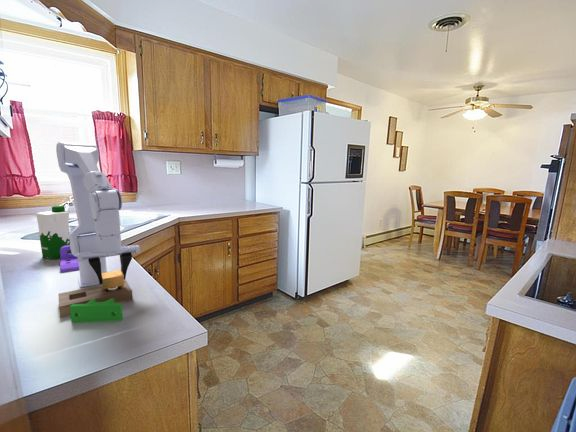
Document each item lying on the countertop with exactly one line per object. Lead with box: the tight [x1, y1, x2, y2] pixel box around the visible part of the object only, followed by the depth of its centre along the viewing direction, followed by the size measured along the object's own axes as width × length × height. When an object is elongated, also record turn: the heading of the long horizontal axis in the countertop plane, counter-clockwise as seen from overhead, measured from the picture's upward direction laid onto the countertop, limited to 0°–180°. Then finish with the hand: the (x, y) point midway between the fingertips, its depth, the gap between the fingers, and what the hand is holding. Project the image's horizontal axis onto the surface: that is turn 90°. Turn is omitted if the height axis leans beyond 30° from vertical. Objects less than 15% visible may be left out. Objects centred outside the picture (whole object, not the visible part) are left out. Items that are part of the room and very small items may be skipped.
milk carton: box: [35, 205, 72, 260], centre depth 114 cm, size 9×9×20 cm
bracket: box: [59, 245, 79, 273], centre depth 104 cm, size 12×7×7 cm, turn 36°
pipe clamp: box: [70, 298, 124, 323], centre depth 70 cm, size 11×4×5 cm, turn 96°
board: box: [58, 279, 134, 318], centre depth 78 cm, size 9×16×3 cm, turn 129°
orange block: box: [101, 269, 124, 292], centre depth 80 cm, size 5×5×6 cm
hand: (112, 281), depth 80 cm, fingers closed on orange block, 5 cm apart
